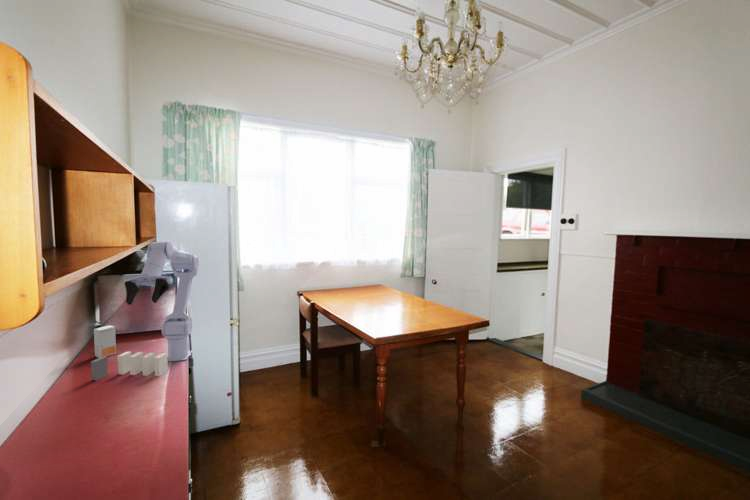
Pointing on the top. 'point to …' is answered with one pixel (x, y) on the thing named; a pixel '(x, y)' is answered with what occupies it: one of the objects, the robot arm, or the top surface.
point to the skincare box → (104, 341)
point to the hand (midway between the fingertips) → (141, 302)
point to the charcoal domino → (99, 368)
